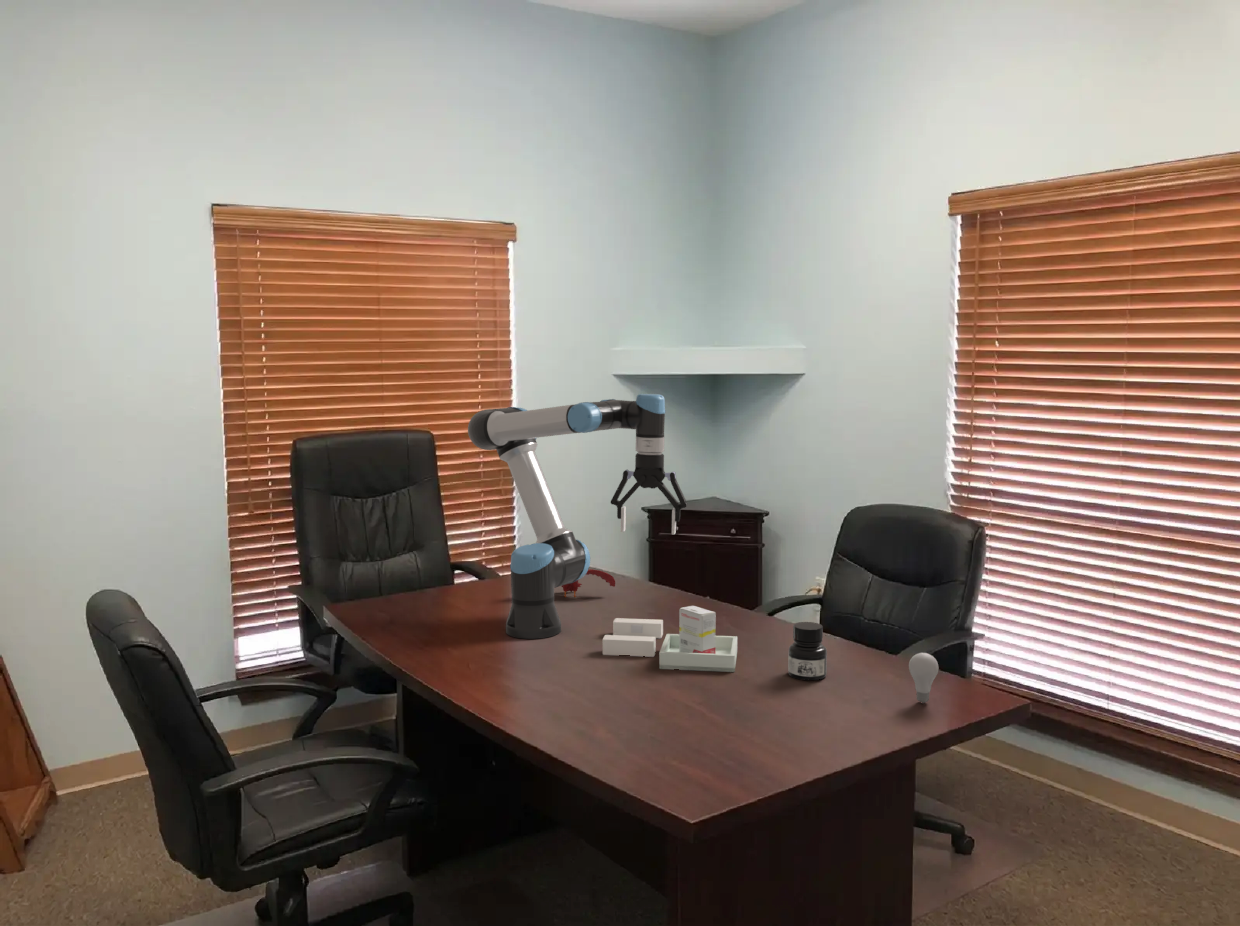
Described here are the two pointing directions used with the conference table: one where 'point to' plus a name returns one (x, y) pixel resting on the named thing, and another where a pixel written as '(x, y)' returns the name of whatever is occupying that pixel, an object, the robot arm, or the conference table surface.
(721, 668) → the pale green tray
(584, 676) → the conference table surface
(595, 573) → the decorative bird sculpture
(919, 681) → the lightbulb
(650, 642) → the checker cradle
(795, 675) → the ink bottle
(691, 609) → the ink box
